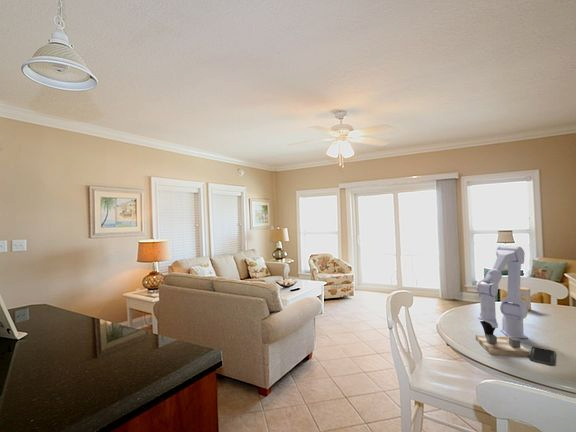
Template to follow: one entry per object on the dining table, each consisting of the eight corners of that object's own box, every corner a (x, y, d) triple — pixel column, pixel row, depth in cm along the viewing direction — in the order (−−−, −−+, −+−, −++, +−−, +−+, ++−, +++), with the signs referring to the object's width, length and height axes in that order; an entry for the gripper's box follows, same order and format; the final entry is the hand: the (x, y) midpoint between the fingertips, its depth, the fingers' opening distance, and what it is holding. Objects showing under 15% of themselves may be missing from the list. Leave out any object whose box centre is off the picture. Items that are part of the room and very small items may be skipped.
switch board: (475, 339, 147) (475, 335, 147) (511, 341, 143) (510, 336, 143) (489, 353, 131) (489, 349, 131) (529, 356, 128) (529, 351, 128)
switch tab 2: (509, 344, 135) (508, 337, 135) (516, 344, 134) (516, 337, 134) (512, 346, 132) (512, 340, 132) (520, 347, 131) (520, 340, 131)
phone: (528, 358, 125) (532, 346, 136) (529, 361, 125) (532, 348, 136) (554, 364, 119) (555, 351, 130) (554, 367, 119) (555, 353, 130)
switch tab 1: (486, 340, 139) (486, 334, 139) (493, 341, 138) (493, 334, 138) (489, 343, 136) (489, 336, 136) (496, 343, 135) (496, 337, 135)
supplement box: (531, 309, 188) (530, 288, 188) (527, 310, 186) (527, 289, 186) (516, 306, 195) (515, 285, 195) (512, 307, 193) (511, 287, 193)
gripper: (472, 303, 148) (473, 331, 148) (484, 313, 134) (485, 343, 134) (488, 304, 146) (489, 332, 146) (502, 313, 132) (503, 344, 132)
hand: (488, 337), depth 140 cm, fingers closed
